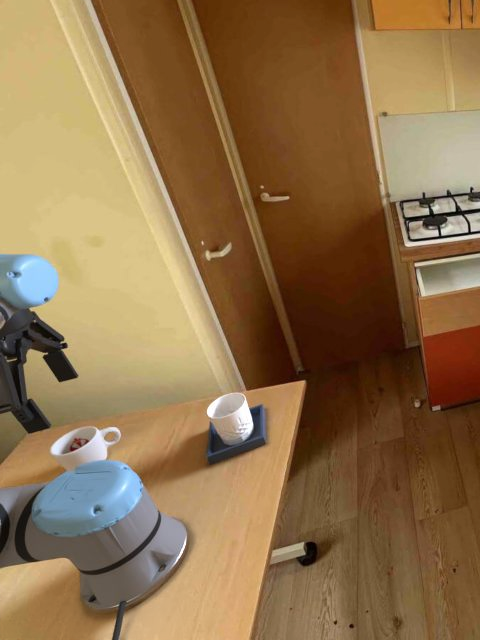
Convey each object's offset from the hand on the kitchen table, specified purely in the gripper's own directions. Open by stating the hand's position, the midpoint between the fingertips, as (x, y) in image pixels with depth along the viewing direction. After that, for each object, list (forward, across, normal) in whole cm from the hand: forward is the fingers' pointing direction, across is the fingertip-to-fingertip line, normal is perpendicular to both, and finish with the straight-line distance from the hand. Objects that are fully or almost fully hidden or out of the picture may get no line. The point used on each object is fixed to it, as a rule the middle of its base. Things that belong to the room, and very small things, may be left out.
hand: (55, 402), depth 78 cm
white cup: (+26, +4, -23) cm, 35 cm away
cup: (+27, +12, +6) cm, 30 cm away
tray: (+27, +4, -23) cm, 35 cm away
